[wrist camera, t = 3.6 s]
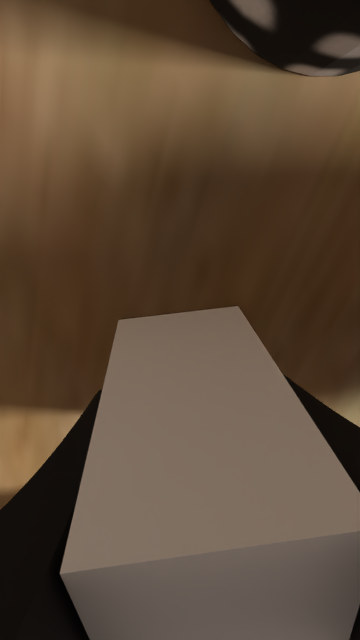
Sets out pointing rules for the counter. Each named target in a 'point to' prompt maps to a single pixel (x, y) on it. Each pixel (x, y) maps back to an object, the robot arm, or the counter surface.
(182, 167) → the counter surface
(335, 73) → the spotted tube
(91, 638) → the ivory block
